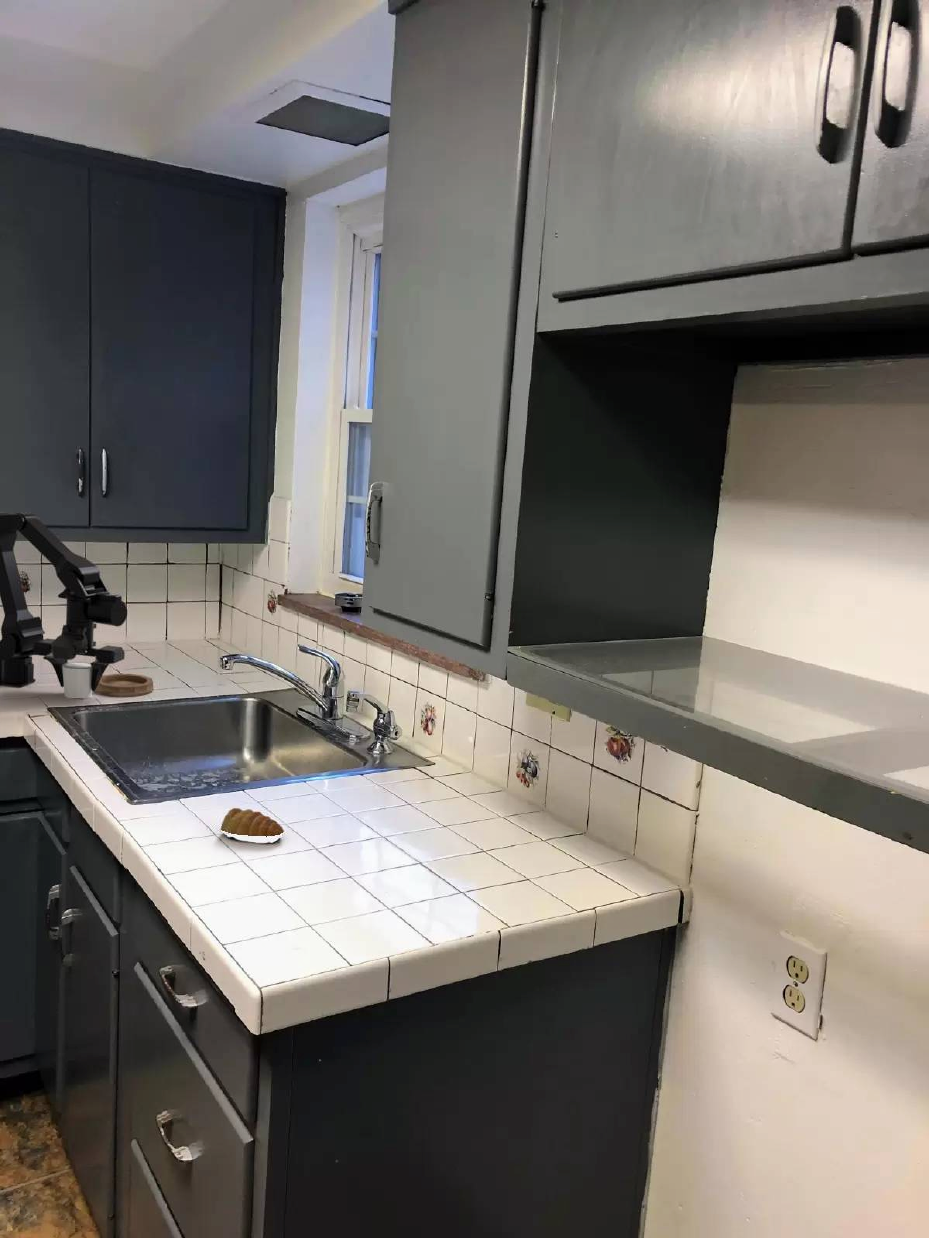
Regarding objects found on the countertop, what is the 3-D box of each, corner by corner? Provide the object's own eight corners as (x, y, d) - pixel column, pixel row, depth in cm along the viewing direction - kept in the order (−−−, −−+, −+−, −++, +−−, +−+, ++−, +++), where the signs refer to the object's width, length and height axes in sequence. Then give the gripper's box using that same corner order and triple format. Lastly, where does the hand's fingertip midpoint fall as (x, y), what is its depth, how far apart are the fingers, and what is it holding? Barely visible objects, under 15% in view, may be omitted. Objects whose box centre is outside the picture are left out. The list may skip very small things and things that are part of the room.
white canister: (100, 693, 222) (100, 663, 221) (85, 700, 215) (86, 669, 214) (71, 690, 223) (71, 660, 222) (55, 697, 216) (56, 666, 215)
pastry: (290, 835, 154) (292, 812, 153) (270, 851, 148) (271, 827, 147) (237, 823, 156) (238, 801, 156) (215, 838, 150) (216, 815, 149)
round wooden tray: (83, 692, 222) (83, 683, 221) (110, 680, 234) (110, 671, 234) (138, 699, 220) (138, 689, 220) (162, 686, 233) (163, 677, 233)
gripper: (19, 621, 209) (18, 692, 212) (102, 630, 207) (100, 702, 210) (47, 613, 220) (46, 680, 223) (126, 622, 218) (124, 690, 221)
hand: (78, 688), depth 219 cm, fingers open, 7 cm apart
